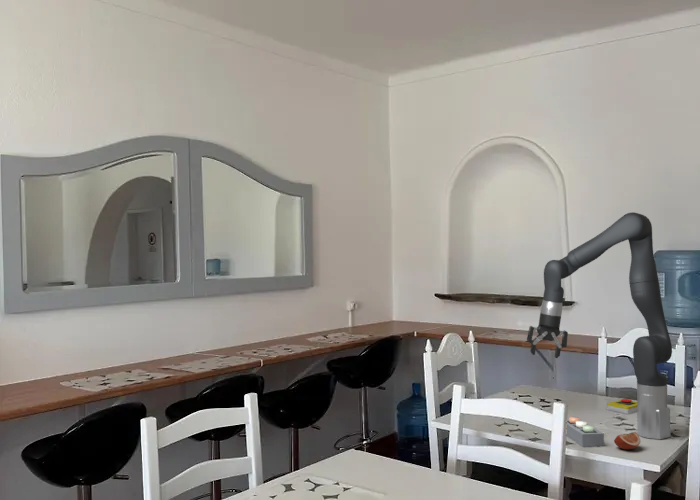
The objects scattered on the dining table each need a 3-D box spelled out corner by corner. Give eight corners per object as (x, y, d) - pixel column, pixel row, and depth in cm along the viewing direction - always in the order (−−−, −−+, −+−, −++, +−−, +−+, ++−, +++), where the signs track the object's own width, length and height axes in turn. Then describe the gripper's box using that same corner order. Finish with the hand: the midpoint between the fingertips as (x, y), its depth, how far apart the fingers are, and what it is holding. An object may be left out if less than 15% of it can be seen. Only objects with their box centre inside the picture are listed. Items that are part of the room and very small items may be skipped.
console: (560, 431, 230) (560, 420, 230) (580, 431, 230) (580, 419, 230) (582, 446, 212) (582, 434, 212) (603, 446, 213) (603, 433, 213)
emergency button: (646, 399, 260) (624, 405, 251) (647, 411, 260) (624, 417, 251) (625, 395, 267) (602, 400, 259) (625, 406, 267) (602, 412, 259)
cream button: (574, 427, 223) (574, 420, 223) (584, 426, 223) (583, 420, 223) (578, 430, 219) (578, 423, 219) (588, 429, 220) (588, 423, 220)
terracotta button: (567, 423, 228) (567, 416, 228) (577, 422, 229) (577, 416, 229) (571, 425, 225) (571, 419, 225) (581, 425, 225) (581, 419, 225)
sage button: (581, 431, 217) (581, 425, 217) (591, 431, 218) (591, 424, 218) (585, 434, 214) (585, 428, 214) (596, 434, 214) (595, 427, 214)
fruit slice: (627, 444, 214) (627, 429, 214) (646, 449, 209) (645, 433, 209) (609, 448, 210) (609, 432, 210) (627, 454, 204) (627, 437, 204)
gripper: (534, 312, 246) (527, 355, 247) (573, 317, 245) (566, 360, 246) (529, 309, 253) (523, 351, 254) (567, 314, 253) (561, 356, 254)
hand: (544, 356), depth 250 cm, fingers open, 8 cm apart
